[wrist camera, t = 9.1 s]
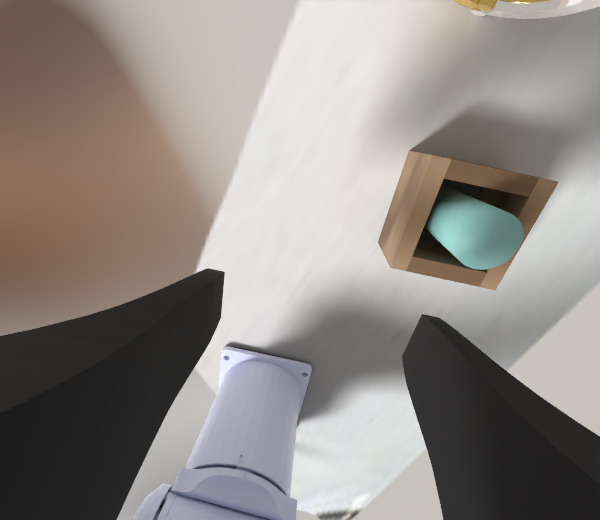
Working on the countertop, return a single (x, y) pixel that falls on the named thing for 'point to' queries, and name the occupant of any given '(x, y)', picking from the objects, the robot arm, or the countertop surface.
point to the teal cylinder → (473, 229)
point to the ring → (528, 7)
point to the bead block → (418, 203)
